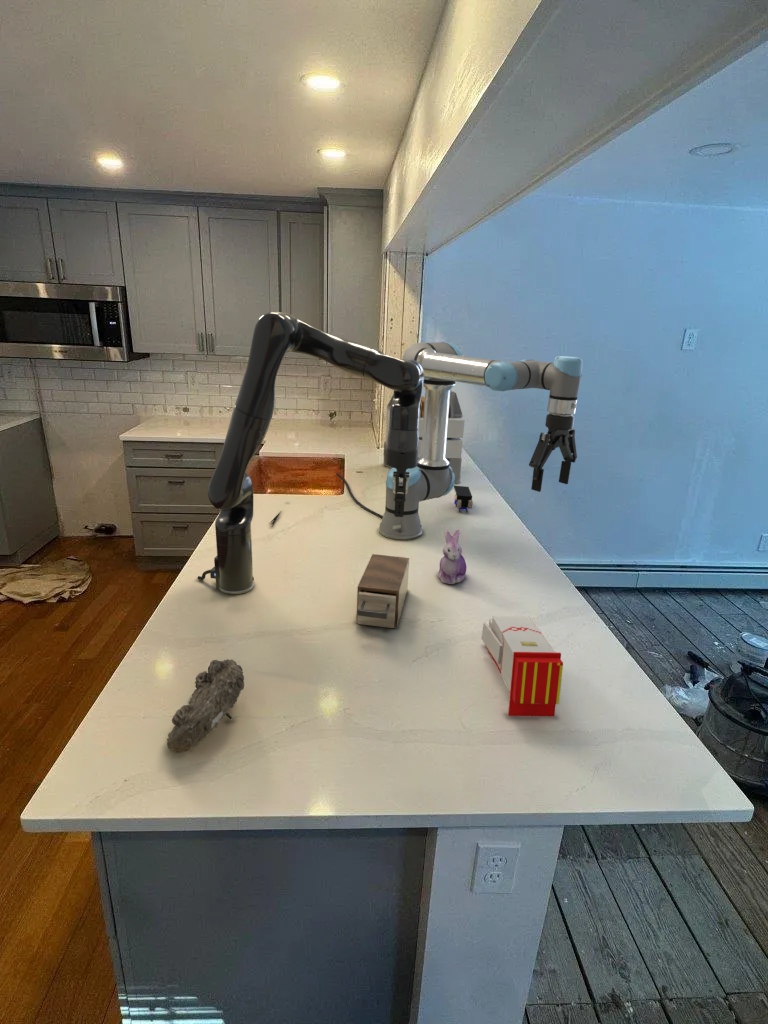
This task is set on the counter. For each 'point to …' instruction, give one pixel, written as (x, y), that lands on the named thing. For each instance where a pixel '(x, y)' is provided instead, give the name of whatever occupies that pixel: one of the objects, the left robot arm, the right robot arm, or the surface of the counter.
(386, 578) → the cabinet
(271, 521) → the feather
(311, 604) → the counter surface
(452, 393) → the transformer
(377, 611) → the drawer
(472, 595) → the counter surface
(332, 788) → the counter surface
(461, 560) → the figurine
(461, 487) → the figurine character
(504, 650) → the toy
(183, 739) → the grey lumpy elongated piece
